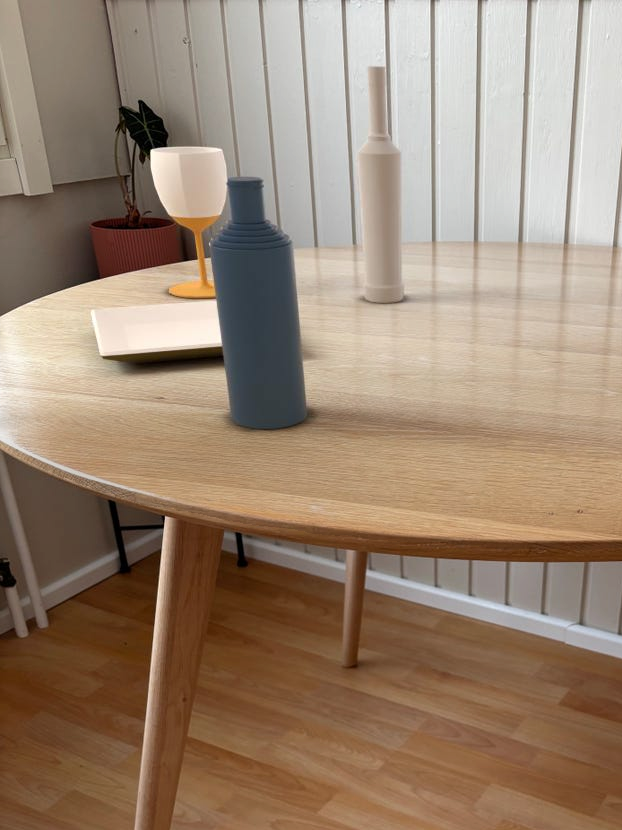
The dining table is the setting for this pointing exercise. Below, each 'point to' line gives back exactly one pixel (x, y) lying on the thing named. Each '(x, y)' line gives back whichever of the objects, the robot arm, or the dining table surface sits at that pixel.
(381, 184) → the bottle
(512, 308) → the dining table surface
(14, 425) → the dining table surface
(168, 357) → the plate
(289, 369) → the water bottle
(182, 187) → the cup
